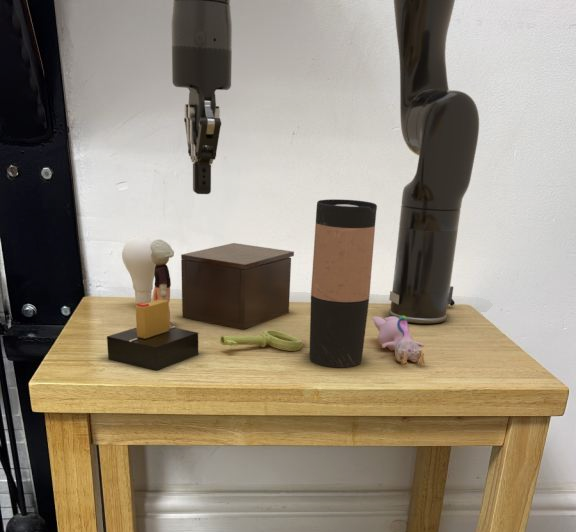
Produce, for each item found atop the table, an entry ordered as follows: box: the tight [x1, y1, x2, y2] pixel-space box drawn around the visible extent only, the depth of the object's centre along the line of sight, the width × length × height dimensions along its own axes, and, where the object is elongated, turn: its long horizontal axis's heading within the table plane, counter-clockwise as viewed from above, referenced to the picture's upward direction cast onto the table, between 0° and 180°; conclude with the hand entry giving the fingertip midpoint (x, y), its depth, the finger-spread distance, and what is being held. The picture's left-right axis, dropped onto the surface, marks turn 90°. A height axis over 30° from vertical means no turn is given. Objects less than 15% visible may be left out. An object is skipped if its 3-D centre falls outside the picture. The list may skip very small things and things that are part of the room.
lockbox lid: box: [180, 242, 295, 269], centre depth 122 cm, size 14×12×1 cm
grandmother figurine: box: [151, 238, 175, 327], centre depth 113 cm, size 8×4×13 cm, turn 18°
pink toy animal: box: [372, 315, 425, 367], centre depth 110 cm, size 6×6×15 cm
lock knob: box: [135, 299, 170, 339], centre depth 101 cm, size 5×1×4 cm, turn 150°
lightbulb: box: [121, 235, 156, 304], centre depth 126 cm, size 6×6×11 cm
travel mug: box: [309, 198, 378, 368], centre depth 101 cm, size 8×8×20 cm
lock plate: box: [106, 325, 199, 371], centre depth 103 cm, size 9×8×3 cm
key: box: [219, 329, 303, 352], centre depth 109 cm, size 7×12×2 cm, turn 139°
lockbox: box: [180, 257, 292, 330], centre depth 124 cm, size 14×12×9 cm
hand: (201, 193), depth 106 cm, fingers closed
